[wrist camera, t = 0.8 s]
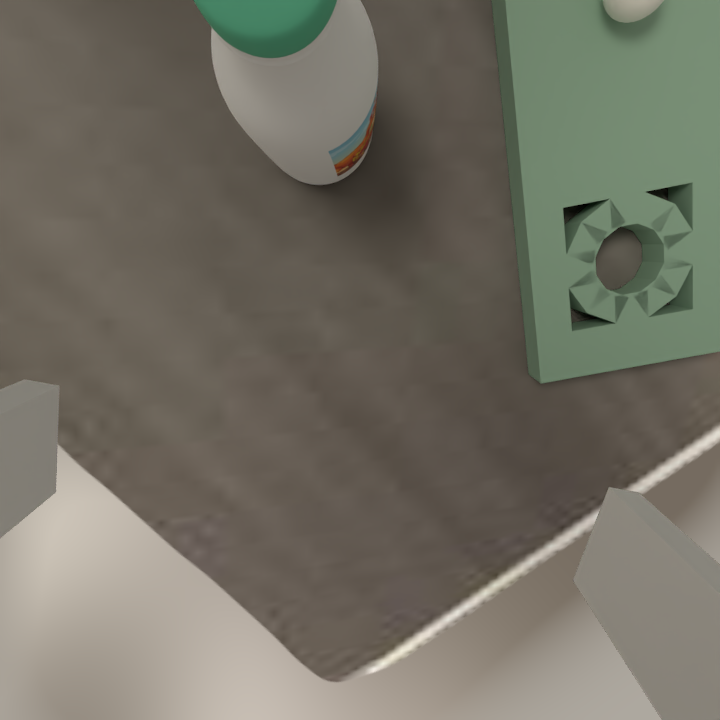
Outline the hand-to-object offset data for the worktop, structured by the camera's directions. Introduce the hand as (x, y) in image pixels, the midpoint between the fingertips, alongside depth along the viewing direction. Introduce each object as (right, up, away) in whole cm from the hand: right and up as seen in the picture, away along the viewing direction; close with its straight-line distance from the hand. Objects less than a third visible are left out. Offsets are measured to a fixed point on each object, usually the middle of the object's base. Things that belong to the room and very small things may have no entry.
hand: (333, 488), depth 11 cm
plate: (+18, +18, +21) cm, 34 cm away
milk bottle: (-2, +20, +21) cm, 29 cm away
